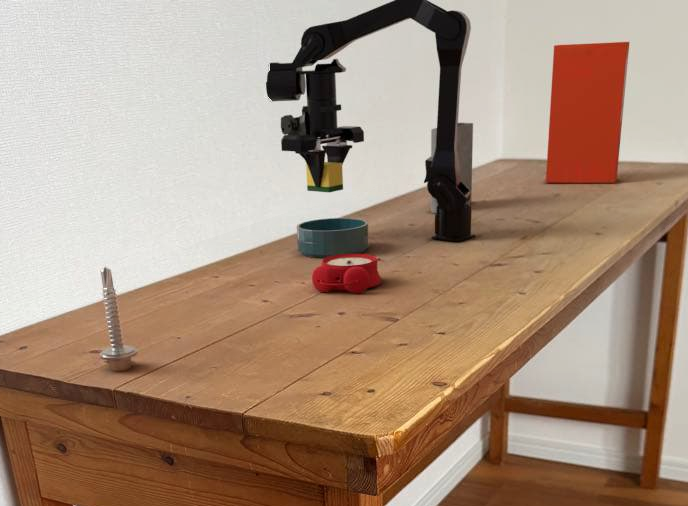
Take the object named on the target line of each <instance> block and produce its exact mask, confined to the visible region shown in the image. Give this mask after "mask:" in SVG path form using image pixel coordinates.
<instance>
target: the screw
mask: <svg viewBox="0 0 688 506" xmlns="http://www.w3.org/2000/svg"><path fill="white" fill-rule="evenodd" d="M99 272H100V278H101V285H102V288H101V290H102V293H101V295H102V296H103V298H102V300H103V301H104V302H103V303H102V304H103V305H104V310H105V312H104V314H105V315H106V316H105V317H104V318H105V319H106V323H107V326H106V328H107V329H108V330H107V332H108V335H107V336H108V337H109V339H108V341H109V342H110V343H109V347H105V348H104V349H102V350H101V351H100V353H99V358H100V359H101V360H104V361H107V362H108V365H109V370H111V371H115V372H120V371H121V372H122V371H127V370H129V369H130V368H131V367H132V360H131V359H132V358H134V357H136V356H137V355H138V349H137V348H135V347H134V346H132V345H127V344H124V342H125V340H124V339H123V338H124V335H123V332H124V331H123V330H122V329H123V327H122V322H121V321H120V320H121V317H120V314H121V313H120V312H119V311H120V308H119V307H118V306H119V303H118V298H117V297H118V294H117V293H116V292H117V289H116V288H115V286H114V281H113V275H112V269H111V268H108V267H107V266H104V267H103V268H101V270H100V271H99Z"/></svg>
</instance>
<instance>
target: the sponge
mask: <svg viewBox="0 0 688 506" xmlns="http://www.w3.org/2000/svg"><path fill="white" fill-rule="evenodd" d="M305 169H306V171H305V172H306V173H305V174H306V188H307V189H306V190H307V192H318V193H334V192H338V191H342V190H344V176H343V165H342V163H333V162H328V161H324V169H323V176H322V181H321V186H320V187H316V186H315V184H314V181H313V178H312V176H311V173H310V170H309V168H308V165H307V163H306V164H305Z"/></svg>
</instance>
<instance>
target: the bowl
mask: <svg viewBox="0 0 688 506" xmlns="http://www.w3.org/2000/svg"><path fill="white" fill-rule="evenodd" d="M369 239H370V237H369V222H368V221H367V220H364V219H361V218H352V217H331V218H328V217H327V218H320V219H312V220H311V219H310V220H307V221H303V222H301V223H299V224H297V225H296V241H297V250H298V252H299V253H300V254H301V255H303V256H305V257H310V258H318V259H325V258H327V257H330V256H335V255H342V254H364V253H365V252H366V250H367V249H368V248H369V246H370V243H369Z"/></svg>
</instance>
